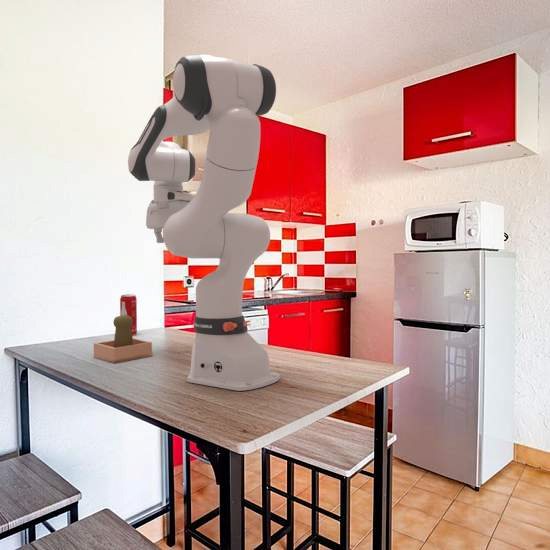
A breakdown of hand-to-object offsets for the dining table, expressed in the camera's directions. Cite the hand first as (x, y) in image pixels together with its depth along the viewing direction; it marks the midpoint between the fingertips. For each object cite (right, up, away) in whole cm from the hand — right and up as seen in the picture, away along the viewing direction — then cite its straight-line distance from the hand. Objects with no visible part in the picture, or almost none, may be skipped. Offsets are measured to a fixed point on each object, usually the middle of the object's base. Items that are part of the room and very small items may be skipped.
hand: (169, 242), depth 134 cm
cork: (-11, -33, -9) cm, 36 cm away
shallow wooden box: (-11, -34, -9) cm, 36 cm away
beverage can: (-21, -33, +27) cm, 47 cm away
